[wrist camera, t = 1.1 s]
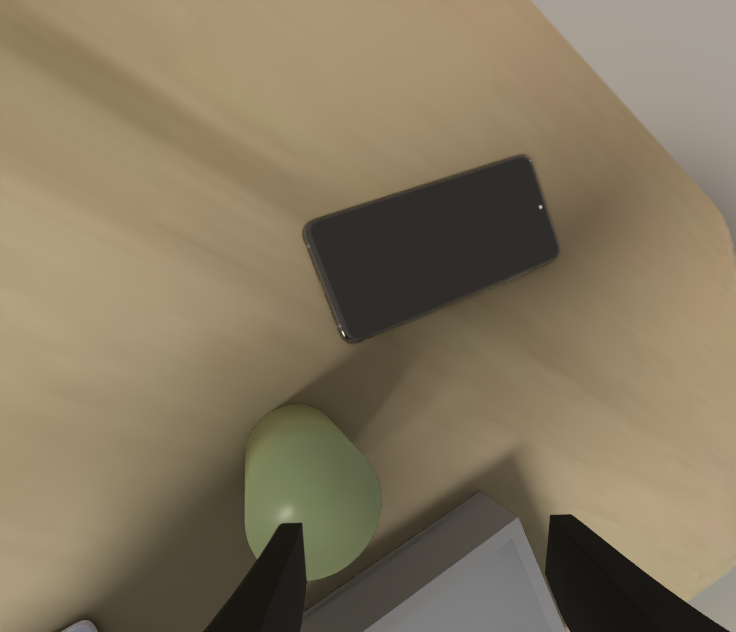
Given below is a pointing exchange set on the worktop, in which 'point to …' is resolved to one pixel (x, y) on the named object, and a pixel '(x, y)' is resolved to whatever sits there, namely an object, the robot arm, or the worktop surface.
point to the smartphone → (430, 246)
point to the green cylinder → (309, 488)
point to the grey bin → (447, 581)
